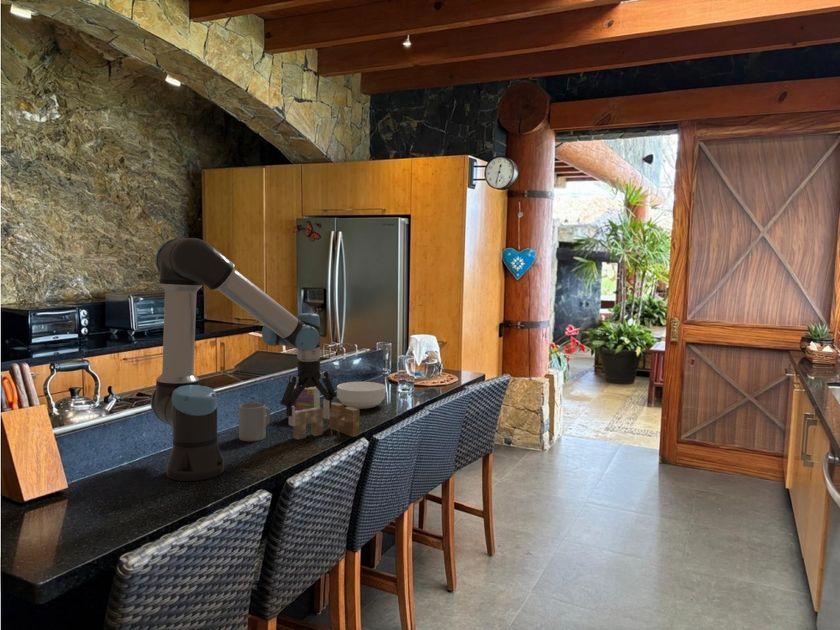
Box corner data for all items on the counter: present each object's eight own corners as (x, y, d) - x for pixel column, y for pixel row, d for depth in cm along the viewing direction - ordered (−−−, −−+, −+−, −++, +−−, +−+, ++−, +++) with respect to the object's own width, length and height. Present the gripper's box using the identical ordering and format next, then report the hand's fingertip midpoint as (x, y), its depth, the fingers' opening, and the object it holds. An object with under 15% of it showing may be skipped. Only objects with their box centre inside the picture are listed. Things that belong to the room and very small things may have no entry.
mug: (252, 443, 207) (251, 409, 206) (233, 438, 211) (233, 405, 210) (278, 434, 217) (278, 402, 216) (260, 430, 221) (260, 399, 220)
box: (288, 418, 239) (288, 387, 238) (294, 415, 244) (294, 384, 243) (314, 420, 236) (314, 389, 235) (320, 417, 242) (320, 386, 241)
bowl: (366, 414, 247) (366, 393, 246) (326, 407, 257) (326, 387, 256) (394, 405, 264) (394, 385, 263) (356, 399, 274) (356, 379, 273)
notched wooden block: (353, 436, 216) (353, 410, 215) (329, 428, 226) (329, 403, 226) (359, 435, 218) (359, 409, 217) (335, 427, 228) (335, 402, 227)
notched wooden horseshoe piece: (297, 439, 212) (297, 412, 211) (293, 437, 214) (293, 411, 213) (322, 434, 218) (323, 408, 218) (318, 432, 220) (319, 407, 219)
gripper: (281, 365, 203) (282, 430, 205) (346, 357, 219) (346, 417, 221) (269, 362, 208) (270, 426, 210) (333, 354, 225) (333, 413, 227)
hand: (309, 422), depth 216 cm, fingers open, 13 cm apart
